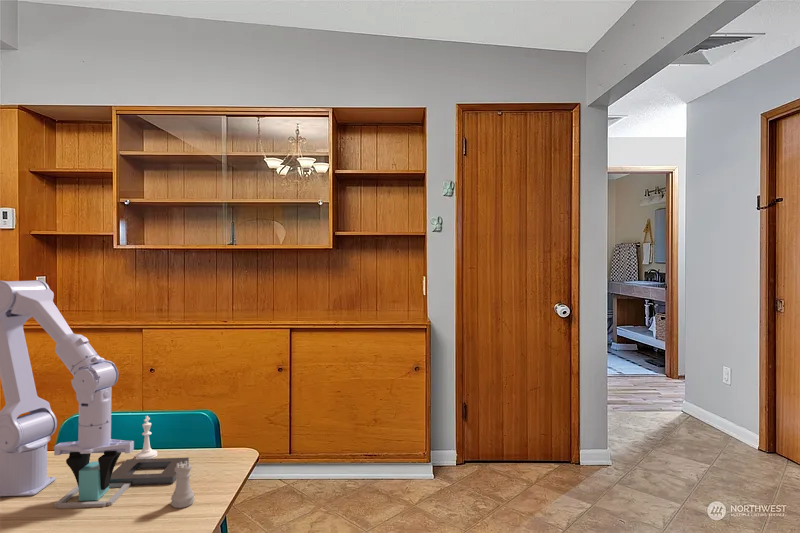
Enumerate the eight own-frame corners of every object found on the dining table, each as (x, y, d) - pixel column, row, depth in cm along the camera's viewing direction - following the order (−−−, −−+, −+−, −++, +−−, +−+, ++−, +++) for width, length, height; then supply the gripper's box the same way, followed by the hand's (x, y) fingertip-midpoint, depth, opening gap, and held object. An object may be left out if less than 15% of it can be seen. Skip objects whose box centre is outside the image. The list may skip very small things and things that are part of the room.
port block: (104, 486, 106) (104, 479, 106) (127, 465, 117) (127, 459, 117) (172, 483, 108) (172, 476, 108) (188, 463, 118) (188, 457, 118)
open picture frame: (52, 508, 96) (52, 505, 96) (79, 486, 106) (79, 483, 106) (110, 506, 97) (110, 503, 97) (131, 484, 107) (131, 481, 107)
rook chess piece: (185, 510, 96) (186, 469, 96) (165, 507, 97) (165, 467, 97) (199, 499, 100) (199, 460, 100) (179, 497, 101) (180, 458, 101)
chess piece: (130, 459, 121) (131, 418, 121) (144, 451, 126) (144, 412, 126) (148, 460, 120) (149, 419, 120) (161, 453, 125) (162, 413, 125)
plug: (78, 500, 99) (78, 470, 99) (90, 490, 104) (91, 461, 104) (97, 500, 99) (98, 470, 99) (108, 489, 104) (109, 461, 104)
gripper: (45, 429, 97) (44, 498, 97) (123, 427, 98) (122, 495, 98) (65, 418, 104) (64, 482, 104) (138, 416, 105) (137, 480, 105)
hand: (94, 488), depth 101 cm, fingers closed on plug, 4 cm apart
